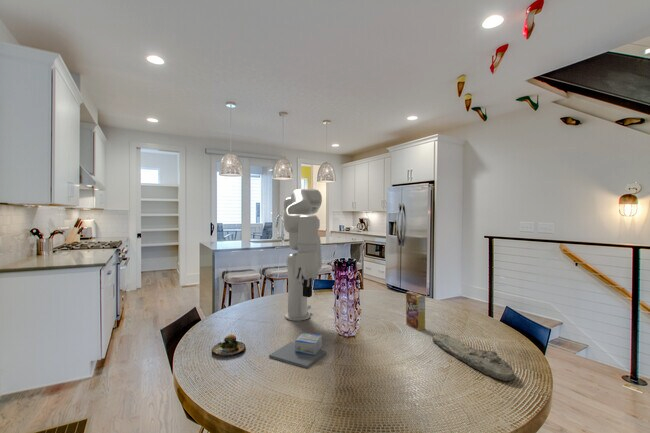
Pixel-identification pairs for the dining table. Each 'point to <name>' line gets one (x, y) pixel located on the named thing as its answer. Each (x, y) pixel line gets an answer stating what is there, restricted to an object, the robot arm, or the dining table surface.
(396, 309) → the dining table surface
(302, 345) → the medicine box
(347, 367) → the dining table surface
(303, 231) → the robot arm
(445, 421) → the dining table surface
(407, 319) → the candy box
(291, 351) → the mat
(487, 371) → the long grey stone
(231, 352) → the burger
